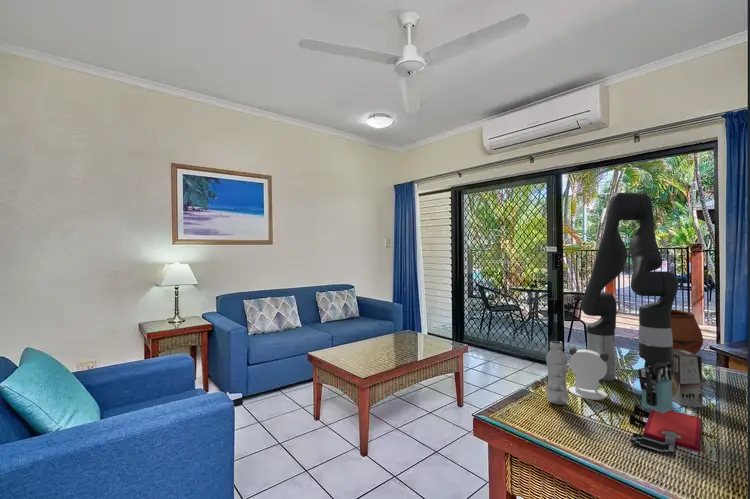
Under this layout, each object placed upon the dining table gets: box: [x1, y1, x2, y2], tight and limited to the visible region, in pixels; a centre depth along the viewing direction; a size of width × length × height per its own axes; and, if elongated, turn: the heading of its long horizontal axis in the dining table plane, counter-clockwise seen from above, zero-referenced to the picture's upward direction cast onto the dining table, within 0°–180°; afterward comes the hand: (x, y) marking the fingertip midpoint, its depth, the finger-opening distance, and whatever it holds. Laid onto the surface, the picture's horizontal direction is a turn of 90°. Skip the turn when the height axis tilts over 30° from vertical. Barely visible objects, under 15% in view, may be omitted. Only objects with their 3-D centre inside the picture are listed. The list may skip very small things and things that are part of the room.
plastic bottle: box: [545, 340, 569, 406], centre depth 116 cm, size 6×7×20 cm
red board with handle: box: [629, 403, 702, 456], centre depth 98 cm, size 30×3×15 cm
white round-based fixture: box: [568, 346, 609, 401], centre depth 124 cm, size 12×11×15 cm
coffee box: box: [668, 349, 704, 408], centre depth 116 cm, size 9×6×16 cm
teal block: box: [641, 379, 673, 413], centre depth 99 cm, size 5×5×8 cm
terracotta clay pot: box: [671, 309, 704, 355], centre depth 141 cm, size 19×19×25 cm
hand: (656, 402), depth 99 cm, fingers closed on teal block, 5 cm apart
